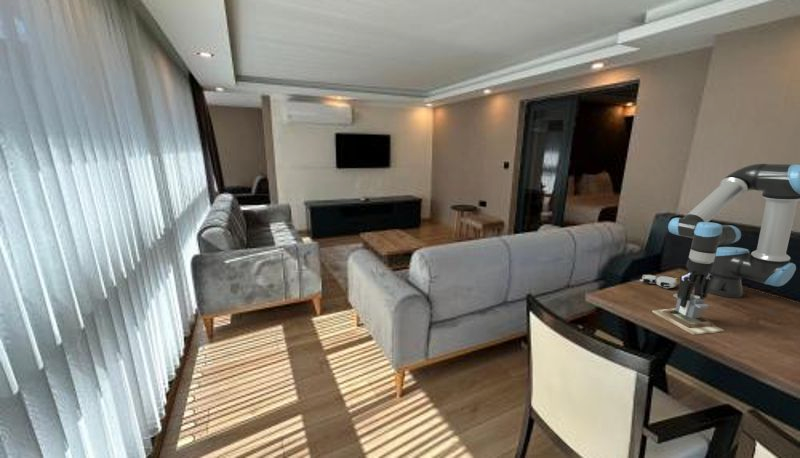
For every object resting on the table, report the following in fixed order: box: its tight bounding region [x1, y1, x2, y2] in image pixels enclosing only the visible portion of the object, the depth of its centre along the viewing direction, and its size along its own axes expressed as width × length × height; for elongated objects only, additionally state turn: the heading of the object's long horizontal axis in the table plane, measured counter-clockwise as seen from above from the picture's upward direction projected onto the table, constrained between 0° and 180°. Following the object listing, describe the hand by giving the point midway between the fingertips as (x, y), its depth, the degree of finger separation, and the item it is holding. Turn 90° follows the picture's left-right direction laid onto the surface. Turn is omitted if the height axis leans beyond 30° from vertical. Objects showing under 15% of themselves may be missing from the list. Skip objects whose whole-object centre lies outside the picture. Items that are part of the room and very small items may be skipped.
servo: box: [672, 293, 710, 318], centre depth 132 cm, size 4×11×9 cm, turn 8°
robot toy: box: [639, 274, 678, 289], centre depth 169 cm, size 12×4×15 cm
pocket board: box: [652, 308, 725, 336], centre depth 134 cm, size 14×18×2 cm
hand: (687, 313), depth 133 cm, fingers closed on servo, 4 cm apart
